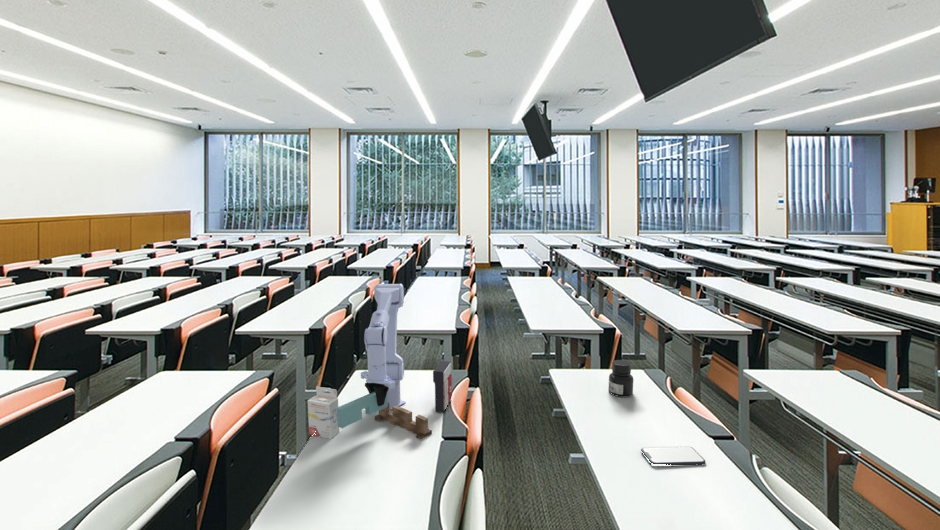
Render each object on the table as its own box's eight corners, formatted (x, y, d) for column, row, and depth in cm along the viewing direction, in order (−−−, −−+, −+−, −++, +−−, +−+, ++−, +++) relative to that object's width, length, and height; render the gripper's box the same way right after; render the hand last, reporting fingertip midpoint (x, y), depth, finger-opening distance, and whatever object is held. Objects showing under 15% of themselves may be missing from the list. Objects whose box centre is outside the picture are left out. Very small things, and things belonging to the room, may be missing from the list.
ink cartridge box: (308, 435, 157) (305, 391, 155) (317, 428, 162) (315, 385, 159) (331, 439, 154) (328, 395, 152) (340, 432, 159) (338, 388, 157)
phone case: (690, 450, 148) (639, 452, 147) (691, 445, 148) (639, 447, 146) (707, 467, 139) (652, 468, 138) (707, 462, 139) (652, 463, 138)
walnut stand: (374, 419, 167) (374, 402, 166) (386, 414, 171) (385, 398, 170) (420, 440, 153) (420, 421, 153) (431, 433, 157) (431, 416, 156)
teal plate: (341, 428, 147) (340, 409, 146) (337, 426, 148) (336, 407, 147) (387, 406, 160) (386, 389, 159) (383, 405, 162) (382, 387, 161)
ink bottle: (603, 389, 192) (604, 359, 190) (624, 386, 194) (625, 357, 192) (616, 399, 183) (618, 368, 181) (637, 396, 185) (639, 366, 183)
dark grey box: (445, 413, 172) (444, 372, 170) (433, 412, 173) (432, 371, 170) (452, 400, 182) (452, 361, 180) (441, 399, 183) (440, 360, 181)
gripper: (352, 362, 158) (354, 402, 160) (382, 372, 149) (383, 414, 151) (369, 356, 163) (371, 395, 165) (399, 366, 154) (400, 407, 156)
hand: (378, 404), depth 159 cm, fingers closed on teal plate, 2 cm apart
